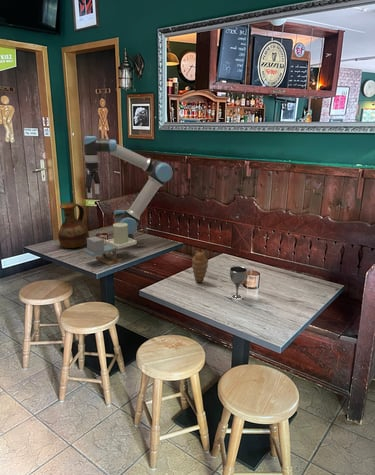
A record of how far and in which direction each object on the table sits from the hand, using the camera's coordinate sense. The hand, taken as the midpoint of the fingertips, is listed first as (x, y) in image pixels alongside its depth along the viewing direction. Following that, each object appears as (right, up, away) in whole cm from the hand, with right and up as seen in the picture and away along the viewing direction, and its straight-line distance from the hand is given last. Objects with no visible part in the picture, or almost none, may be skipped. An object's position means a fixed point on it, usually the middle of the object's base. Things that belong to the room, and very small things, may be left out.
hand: (93, 195), depth 238 cm
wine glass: (+84, -56, -52) cm, 114 cm away
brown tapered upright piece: (+66, -51, -36) cm, 91 cm away
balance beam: (+12, -33, -7) cm, 36 cm away
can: (+18, -30, -3) cm, 35 cm away
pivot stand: (+11, -41, -6) cm, 42 cm away
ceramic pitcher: (-18, -32, +20) cm, 42 cm away
